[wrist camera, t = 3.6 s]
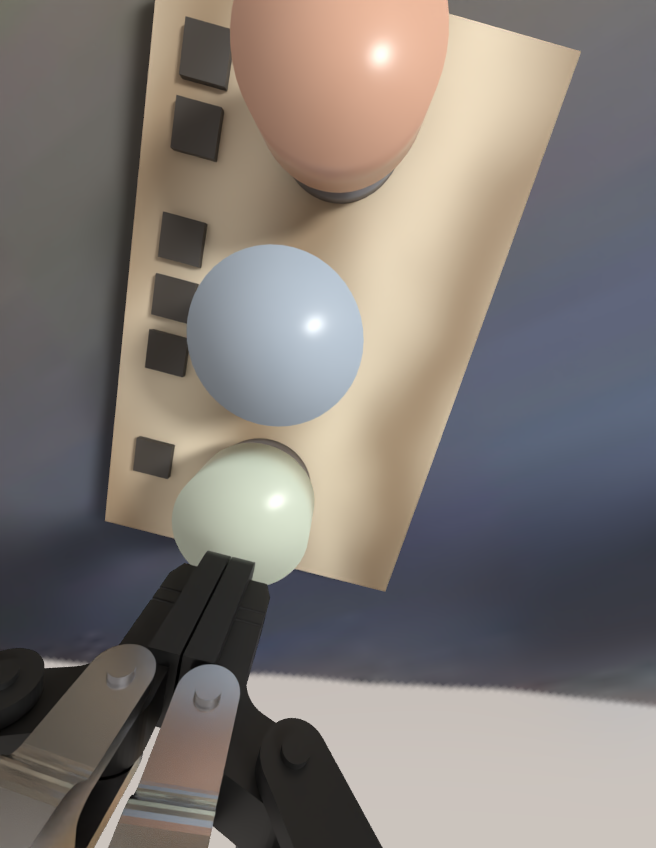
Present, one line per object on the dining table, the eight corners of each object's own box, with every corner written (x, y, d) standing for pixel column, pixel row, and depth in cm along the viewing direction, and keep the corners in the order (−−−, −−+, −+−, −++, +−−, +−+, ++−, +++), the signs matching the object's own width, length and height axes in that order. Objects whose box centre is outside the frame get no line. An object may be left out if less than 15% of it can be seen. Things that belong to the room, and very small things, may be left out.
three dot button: (379, 278, 13) (386, 272, 10) (339, 422, 14) (337, 444, 12) (228, 237, 12) (201, 222, 10) (204, 387, 14) (175, 402, 12)
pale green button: (327, 460, 16) (323, 486, 13) (299, 562, 17) (291, 601, 15) (206, 428, 16) (182, 449, 13) (188, 534, 17) (163, 569, 15)
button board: (550, 85, 15) (595, 34, 12) (382, 565, 21) (386, 603, 18) (187, -19, 14) (149, -94, 12) (127, 501, 21) (94, 530, 18)
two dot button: (453, 11, 11) (481, -71, 8) (398, 211, 12) (409, 188, 10) (274, -40, 10) (252, -138, 8) (240, 168, 12) (213, 134, 10)
